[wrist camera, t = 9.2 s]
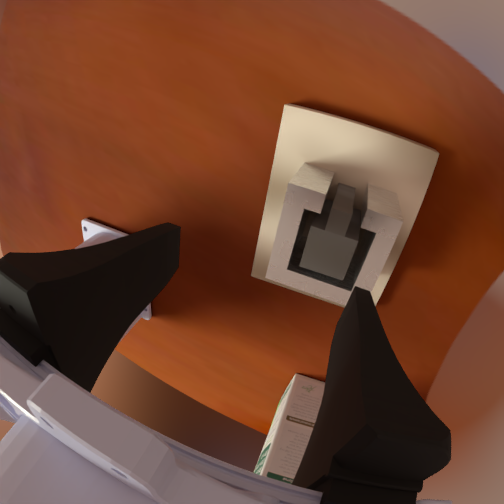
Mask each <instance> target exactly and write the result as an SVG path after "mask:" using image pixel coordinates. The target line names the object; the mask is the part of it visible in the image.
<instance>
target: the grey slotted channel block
mask: <svg viewBox="0 0 504 504" xmlns="http://www.w3.org/2000/svg"><path fill="white" fill-rule="evenodd" d="M333 176H334V171H331V170H327V169H324V168H321V167H318V166H315V165H311V164H308V163H305V162H304V164H303V165H302V166H301V167H300V169H299V170H298V171H297V173H296V174H295V175H294V176H293V178H292V179H291V180H290V181H289V183H288V187H287V191H286V195H285V199H284V203H283V207H282V212H281V216H280V220H279V224H278V228H277V232H276V236H275V240H274V244H273V248H272V253H271V257H270V261H269V265H268V269H267V273H266V277H265V278H267V279H270V280H273V281H276V282H278V283H281V284H284V285H287V286H290V287H293V288H296V289H298V290H301V291H304V292H307V293H310V294H313V295H316V296H319V297H322V298H324V299H327V300H330V301H333V302H336V303H339V304H342V305H345V306H346V304H347V302H348V300H349V298H350V295H351V293H352V291H353V289H354V287H355V286H357V287H360V288H363V289H366V290H369V291H370V293H371V292H372V290H373V288H374V286H375V283H376V281H377V279H378V277H379V275H380V273H381V271H382V269H383V267H384V265H385V262H386V260H387V258H388V256H389V254H390V251H391V249H392V247H393V245H394V242H395V240H396V238H397V235H398V233H399V231H400V228H401V226H402V224H403V218H402V213H401V209H400V204H399V200H398V196H397V193H394V192H392V191H389V190H386V189H383V188H381V187H378V186H375V185H372V184H369V183H368V184H367V187H366V190H365V193H364V196H363V202H362V216H361V228H363V229H366V230H365V233H364V235H363V238H362V240H361V243H360V245H359V248H358V250H357V253H356V254H353V257H352V260H351V262H350V265H349V267H348V270H347V272H346V275H345V277H344V280H343V281H342V280H339V279H336V278H333V277H330V276H327V275H324V274H321V273H318V272H315V271H312V270H309V269H306V268H303V267H300V266H299V265H300V262H301V258H302V255H303V251H304V248H305V245H306V241H307V238H308V237H305V236H302V234H303V231H304V228H305V224H306V221H307V217H308V214H309V210H310V211H313V212H316V213H319V214H320V213H321V211H322V208H323V205H324V203H325V200H326V197H327V195H328V192H329V189H330V186H331V183H332V179H333Z"/></svg>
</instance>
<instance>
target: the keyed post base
mask: <svg viewBox="0 0 504 504" xmlns="http://www.w3.org/2000/svg"><path fill="white" fill-rule="evenodd" d="M438 157H439V153H438V152H437V151H436V150H435V149H433V148H431V147H428V146H426V145H423V144H421V143H418V142H416V141H413V140H410V139H408V138H405V137H402V136H399V135H397V134H394V133H391V132H388V131H385V130H382V129H379V128H376V127H373V126H370V125H367V124H364V123H361V122H357V121H354V120H351V119H347V118H344V117H340V116H337V115H333V114H330V113H326V112H322V111H318V110H314V109H310V108H306V107H302V106H298V105H294V104H290V103H289V104H285V105H284V110H283V115H282V120H281V126H280V131H279V136H278V141H277V146H276V151H275V156H274V161H273V167H272V172H271V177H270V182H269V187H268V192H267V197H266V202H265V207H264V212H263V217H262V222H261V227H260V233H259V238H258V243H257V248H256V253H255V258H254V263H253V268H252V273H251V276H252V277H255V278H258V279H261V280H264V281H267V282H270V283H273V284H276V285H278V286H281V287H284V288H287V289H290V290H293V291H296V292H299V293H302V294H305V295H308V296H311V297H314V298H317V299H320V300H323V301H326V302H329V303H332V304H335V305H338V306H341V307H344V308H345V305H342V304H339V303H336V302H333V301H330V300H327V299H324V298H322V297H319V296H316V295H313V294H310V293H307V292H304V291H301V290H298V289H296V288H293V287H290V286H287V285H284V284H281V283H278V282H276V281H273V280H270V279H267V278H265V277H266V273H267V269H268V265H269V261H270V257H271V253H272V248H273V244H274V240H275V236H276V232H277V228H278V224H279V220H280V216H281V212H282V207H283V203H284V199H285V195H286V191H287V187H288V183H289V181H290V180H291V179H292V178H293V176H294V175H295V174H296V173H297V171H298V170H299V169H300V167H301V166H302V165H303V164H304V162H305V163H308V164H311V165H315V166H318V167H321V168H324V169H327V170H331V171H334V176H333V179H332V183H331V186H330V189H329V192H328V195H327V197H326V200H325V203H324V205H323V208H322V211H321V213H320V214H319V213H316V212H313V211H310V210H309V214H308V217H307V221H306V224H305V228H304V231H303V234H302V236H305V237H308V238H307V241H306V245H305V248H304V251H303V255H302V258H301V262H300V265H299V266H300V267H303V268H306V269H309V270H312V271H315V272H318V273H321V274H324V275H327V276H330V277H333V278H336V279H339V280H342V281H343V280H344V277H345V275H346V272H347V270H348V267H349V265H350V262H351V260H352V257H353V254H356V253H357V250H358V248H359V245H360V243H361V240H362V238H363V235H364V233H365V230H366V229H363V228H361V216H362V202H363V196H364V193H365V190H366V187H367V184H368V183H369V184H372V185H375V186H378V187H381V188H383V189H386V190H389V191H392V192H394V193H397V196H398V200H399V204H400V209H401V213H402V218H403V224H402V226H401V228H400V231H399V233H398V235H397V238H396V240H395V242H394V245H393V247H392V249H391V251H390V254H389V256H388V258H387V260H386V262H385V265H384V267H383V269H382V271H381V273H380V275H379V277H378V279H377V281H376V283H375V286H374V288H373V290H372V292H371V295H372V298H373V301H374V304H375V306H376V304H377V302H378V300H379V298H380V296H381V294H382V292H383V290H384V288H385V286H386V284H387V282H388V280H389V278H390V276H391V274H392V271H393V269H394V267H395V265H396V263H397V261H398V259H399V256H400V254H401V252H402V250H403V247H404V245H405V243H406V241H407V238H408V236H409V234H410V231H411V229H412V226H413V224H414V222H415V219H416V217H417V214H418V212H419V209H420V207H421V204H422V201H423V199H424V196H425V193H426V191H427V188H428V185H429V183H430V180H431V177H432V174H433V171H434V168H435V166H436V163H437V160H438Z"/></svg>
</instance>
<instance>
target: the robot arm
mask: <svg viewBox="0 0 504 504" xmlns="http://www.w3.org/2000/svg"><path fill="white" fill-rule="evenodd" d="M180 229H181V227H180V226H177V225H174V224H171V223H164V224H160V225H157V226H154V227H151V228H148V229H145V230H142V231H139V232H136V233H133V234H130V235H129V234H126V233H123V232H121V231H118V230H115V229H113V228H110V227H107V226H105V225H102V224H100V223H97V222H94V221H92V220H89V219H87V218H85V219H83V220H82V230H83V237H84V242H83V243H82V244H80V245H79V246H78V247H76V248H75V249H71V250H64V251H56V252H44V253H12V252H10V253H8V254H6V255H5V256H4V257H2V258H1V259H0V419H1V420H6V421H9V422H13V423H15V424H14V426H13V427H12V428H11V429H10V430H9V432H8V433H7V434H6V435H5V437H4V438H3V439H2V440H1V441H0V504H452V501H450V500H432V499H423V500H418V501H416V497H417V492H420V491H421V490H422V487H423V480H425V479H427V478H428V477H430V476H432V475H433V474H435V473H437V472H438V471H440V470H441V469H443V468H444V467H445V466H446V465H447V464H448V463H449V461H450V460H451V433H450V430H449V428H448V427H447V426H445V424H444V423H443V422H442V421H441V420H440V419H439V418H438V417H437V416H436V415H435V414H434V412H433V411H432V410H431V409H430V407H429V406H428V405H427V404H426V403H425V401H424V400H423V399H422V397H421V396H420V395H419V393H418V392H417V391H416V389H415V388H414V386H413V385H412V383H411V382H410V380H409V379H408V377H407V375H406V374H405V372H404V370H403V369H402V367H401V365H400V363H399V361H398V360H397V358H396V356H395V354H394V352H393V350H392V348H391V345H390V343H389V341H388V339H387V336H386V334H385V331H384V329H383V326H382V324H381V321H380V318H379V316H378V313H377V310H376V307H375V304H374V301H373V298H372V295H371V293H370V291H369V290H366V289H363V288H360V287H357V286H355V287H354V289H353V291H352V293H351V295H350V298H349V300H348V302H347V304H346V306H345V308H344V310H343V313H342V315H341V317H340V319H339V321H338V323H337V326H336V330H335V333H334V337H333V341H332V344H331V350H330V356H329V363H328V369H327V375H326V381H325V387H324V393H323V397H322V402H321V405H320V409H319V412H318V415H317V418H316V421H315V425H314V428H313V430H312V433H311V436H310V439H309V442H308V445H307V447H306V450H305V453H304V455H303V458H302V460H301V463H300V466H299V468H298V470H297V473H296V475H295V477H294V480H293V482H292V484H288V483H284V482H281V481H277V480H274V479H271V478H268V477H265V476H262V475H259V474H256V473H253V472H249V471H247V470H244V469H241V468H239V467H236V466H233V465H231V464H228V463H225V462H223V461H220V460H218V459H215V458H213V457H210V456H208V455H206V454H203V453H200V452H199V451H196V450H194V449H192V448H189V447H187V446H185V445H183V444H181V443H179V442H177V441H174V440H172V439H170V438H168V437H166V436H164V435H162V434H160V433H158V432H156V431H154V430H152V429H151V428H149V427H147V426H145V425H143V424H141V423H139V422H138V421H136V420H134V419H132V418H130V417H129V416H126V415H125V414H123V413H122V412H120V411H118V410H117V409H115V408H113V407H111V406H110V405H108V404H107V403H105V402H103V401H102V400H100V399H99V398H97V397H96V396H94V395H92V394H91V393H90V392H91V390H92V388H93V386H94V384H95V382H96V380H97V378H98V376H99V374H100V373H101V371H102V369H103V367H104V365H105V364H106V362H107V360H108V358H109V357H110V355H111V354H112V352H113V350H114V349H115V347H116V346H117V344H118V343H119V342H120V341H121V340H122V339H123V338H124V336H125V335H126V334H127V333H128V332H129V331H130V330H131V328H132V327H133V326H134V325H135V324H136V323H137V322H138V321H139V319H140V318H141V317H142V318H144V319H146V320H149V319H150V318H151V317H152V315H151V301H152V300H153V299H154V298H155V297H156V296H157V295H158V294H159V293H160V292H161V290H162V289H163V288H164V287H165V286H166V285H167V283H168V282H169V281H170V279H171V278H172V276H173V275H174V273H175V272H176V270H177V269H178V267H179V247H180Z"/></svg>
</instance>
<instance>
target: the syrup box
mask: <svg viewBox="0 0 504 504" xmlns="http://www.w3.org/2000/svg"><path fill="white" fill-rule="evenodd" d="M324 387H325V382H321V381H318V380H315V379H312V378H309V377H306V376H303V375H299V374H297V373H296V374H295V376H294V377H293V379H292V380H291V382H290V383H289V385H288V387H287V389H286V390H285V392H284V394H283V396H282V398H281V400H280V401H279V404H278V407H277V410H276V413H275V416H274V419H273V422H272V424H271V427H270V430H269V433H268V435H267V438H266V441H265V443H264V446H263V449H262V452H261V454H260V457H259V459H258V462H257V465H256V467H255V470H254V472H253V473H256V474H259V475H262V476H265V477H268V478H271V479H274V480H277V481H281V482H284V483H288V484H292V482H293V480H294V477H295V475H296V473H297V470H298V468H299V466H300V463H301V460H302V458H303V455H304V453H305V450H306V447H307V445H308V442H309V439H310V436H311V433H312V430H313V428H314V425H315V421H316V418H317V415H318V412H319V409H320V405H321V402H322V397H323V393H324Z"/></svg>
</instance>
